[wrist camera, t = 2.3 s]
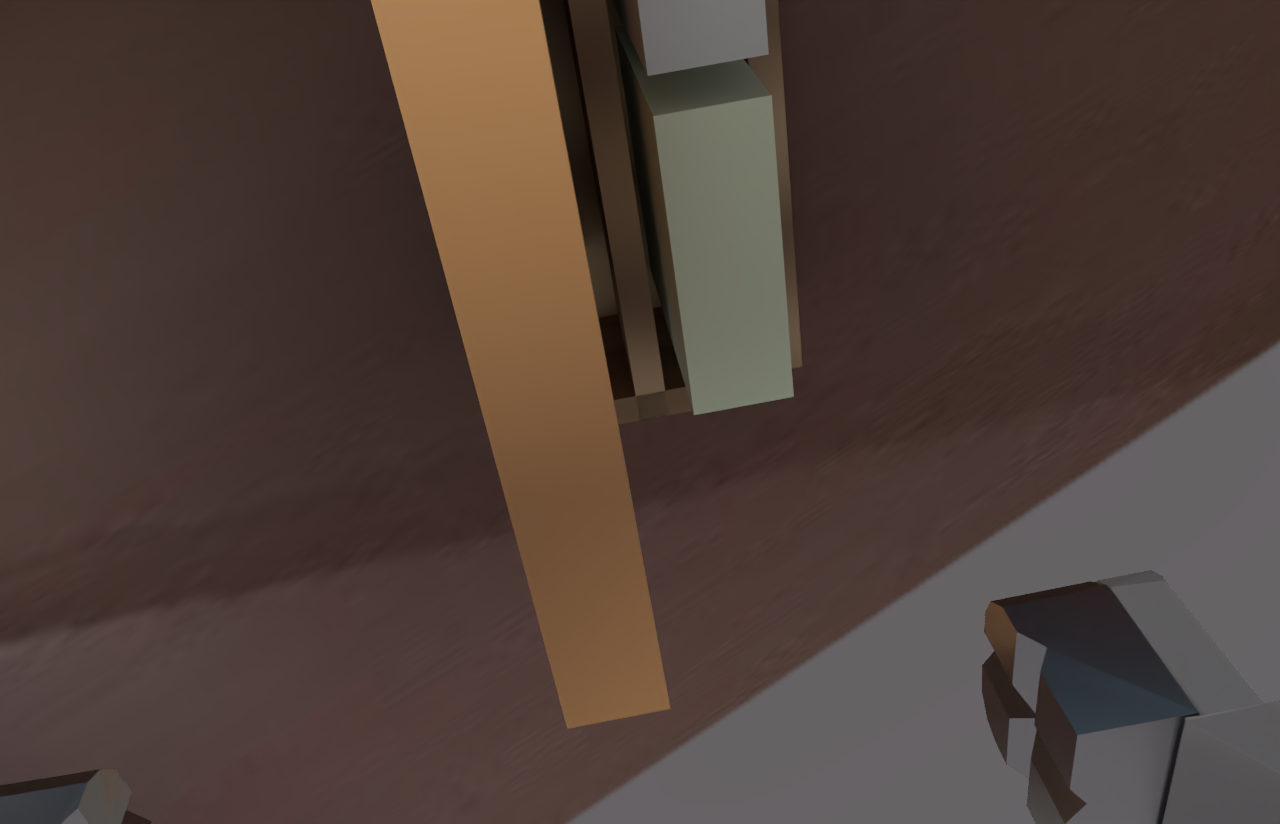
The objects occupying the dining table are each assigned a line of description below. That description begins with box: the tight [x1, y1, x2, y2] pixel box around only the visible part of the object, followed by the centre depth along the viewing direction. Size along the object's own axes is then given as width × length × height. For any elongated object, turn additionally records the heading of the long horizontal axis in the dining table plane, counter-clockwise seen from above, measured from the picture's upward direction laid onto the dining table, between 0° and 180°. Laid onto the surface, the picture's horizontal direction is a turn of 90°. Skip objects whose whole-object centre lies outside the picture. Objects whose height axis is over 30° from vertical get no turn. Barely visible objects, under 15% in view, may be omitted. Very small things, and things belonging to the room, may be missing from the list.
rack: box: [540, 0, 802, 425], centre depth 32 cm, size 24×10×8 cm, turn 8°
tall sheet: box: [371, 0, 670, 729], centre depth 25 cm, size 16×2×22 cm, turn 8°
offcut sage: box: [614, 24, 794, 415], centre depth 33 cm, size 9×3×10 cm, turn 8°
